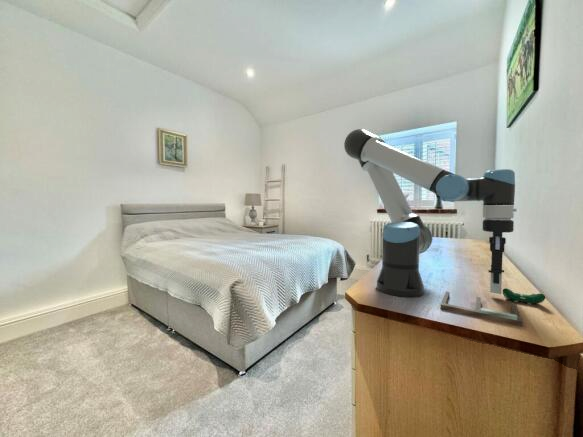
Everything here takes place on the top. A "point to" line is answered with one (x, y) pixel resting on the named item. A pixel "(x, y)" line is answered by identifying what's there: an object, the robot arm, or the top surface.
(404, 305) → the top surface
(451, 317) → the top surface
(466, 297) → the top surface
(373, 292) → the top surface
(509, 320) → the letter e shape
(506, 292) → the gaming controller
